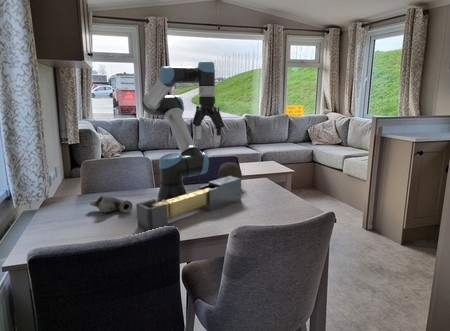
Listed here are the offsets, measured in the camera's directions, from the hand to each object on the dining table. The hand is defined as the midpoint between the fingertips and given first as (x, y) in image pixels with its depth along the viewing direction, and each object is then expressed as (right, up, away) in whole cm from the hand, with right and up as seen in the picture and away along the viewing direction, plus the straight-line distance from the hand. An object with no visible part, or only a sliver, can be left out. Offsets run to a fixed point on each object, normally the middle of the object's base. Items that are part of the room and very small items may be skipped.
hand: (208, 140), depth 158 cm
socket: (-22, -38, -22) cm, 49 cm away
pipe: (-46, -34, -3) cm, 57 cm away
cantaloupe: (+11, -25, +30) cm, 41 cm away
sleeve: (+6, -31, +5) cm, 32 cm away
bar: (-10, -32, -11) cm, 35 cm away
